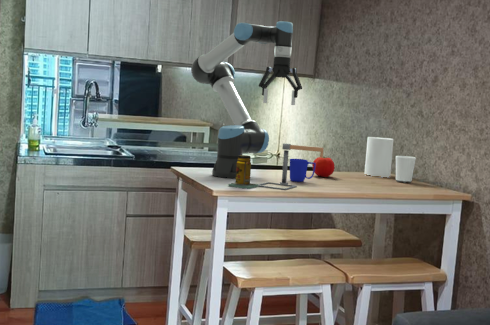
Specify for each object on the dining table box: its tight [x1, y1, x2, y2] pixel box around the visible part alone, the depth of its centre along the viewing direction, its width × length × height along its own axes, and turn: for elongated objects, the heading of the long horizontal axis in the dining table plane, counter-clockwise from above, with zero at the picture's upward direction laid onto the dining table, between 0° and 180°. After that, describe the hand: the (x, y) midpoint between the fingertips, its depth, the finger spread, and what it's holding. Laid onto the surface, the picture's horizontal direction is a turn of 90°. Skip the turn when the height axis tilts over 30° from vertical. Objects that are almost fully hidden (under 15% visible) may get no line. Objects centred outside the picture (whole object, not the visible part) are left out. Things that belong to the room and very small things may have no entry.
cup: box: [395, 155, 417, 184], centre depth 333 cm, size 10×10×13 cm
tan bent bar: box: [281, 142, 325, 157], centre depth 290 cm, size 4×18×4 cm, turn 76°
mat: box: [227, 181, 259, 190], centre depth 278 cm, size 9×10×1 cm
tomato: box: [311, 156, 335, 178], centre depth 333 cm, size 11×13×10 cm
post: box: [279, 149, 290, 185], centre depth 292 cm, size 4×4×15 cm
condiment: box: [232, 154, 256, 185], centre depth 277 cm, size 7×8×12 cm
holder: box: [257, 181, 298, 191], centre depth 285 cm, size 14×14×1 cm
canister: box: [364, 136, 394, 178], centre depth 354 cm, size 14×14×20 cm
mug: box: [289, 158, 316, 183], centre depth 307 cm, size 8×12×10 cm
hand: (278, 104), depth 302 cm, fingers open, 13 cm apart
